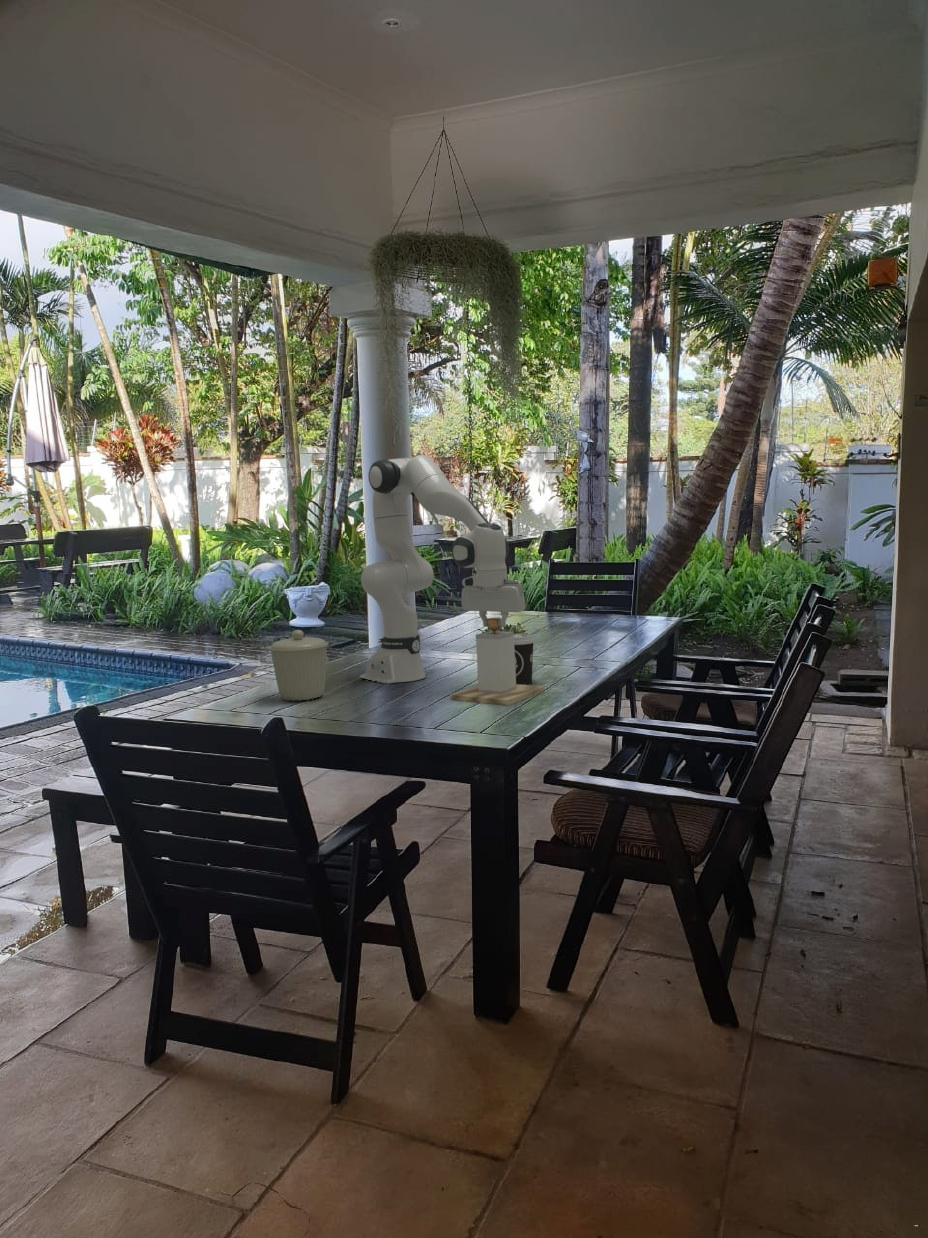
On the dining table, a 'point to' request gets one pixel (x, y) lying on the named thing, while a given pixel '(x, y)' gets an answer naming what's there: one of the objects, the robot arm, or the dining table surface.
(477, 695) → the board
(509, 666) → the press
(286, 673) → the canister
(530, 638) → the coffee cup
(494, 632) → the plunger
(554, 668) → the dining table surface
